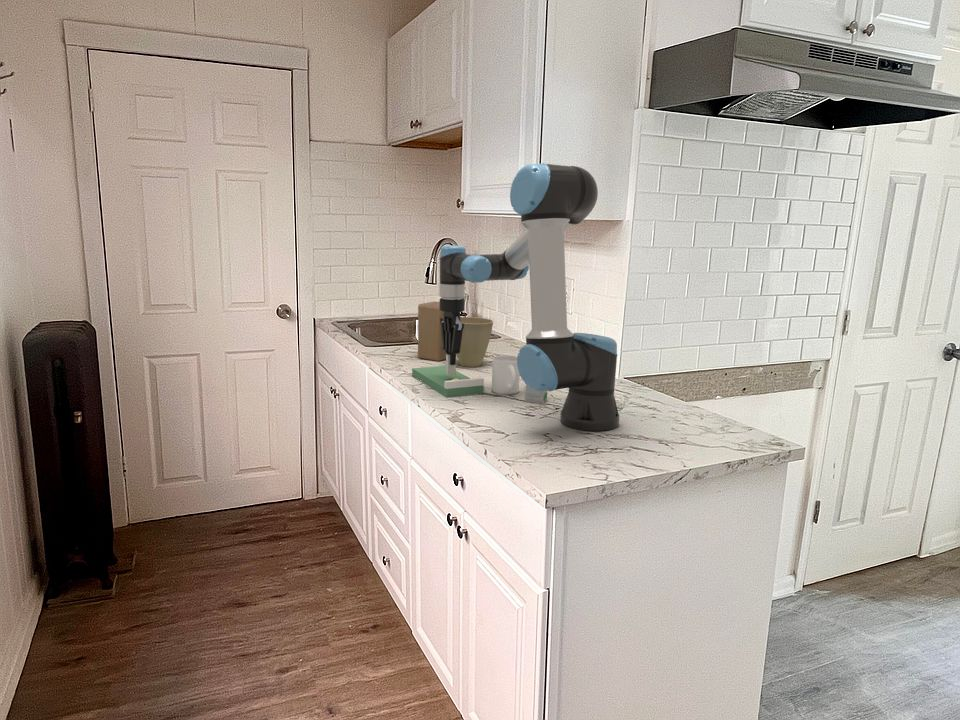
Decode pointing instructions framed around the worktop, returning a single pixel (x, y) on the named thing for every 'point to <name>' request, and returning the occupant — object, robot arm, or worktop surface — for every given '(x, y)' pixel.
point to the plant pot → (474, 340)
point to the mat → (448, 381)
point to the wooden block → (430, 332)
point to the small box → (534, 395)
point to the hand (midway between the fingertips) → (450, 374)
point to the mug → (505, 375)
